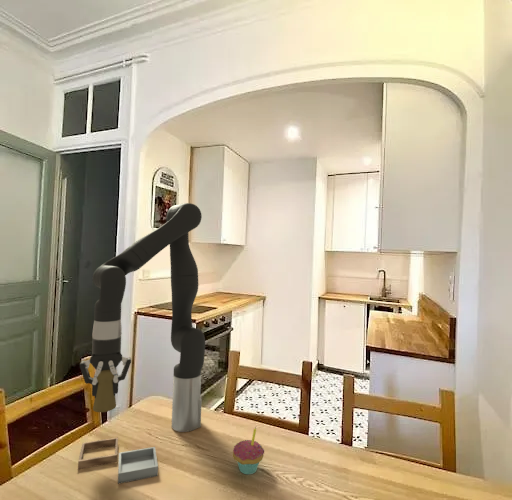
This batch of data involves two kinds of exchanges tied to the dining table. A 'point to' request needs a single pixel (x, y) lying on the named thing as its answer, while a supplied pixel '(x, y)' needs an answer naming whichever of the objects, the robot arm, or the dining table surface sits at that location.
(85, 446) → the walnut frame
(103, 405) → the olive pawn
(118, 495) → the dining table surface
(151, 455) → the grey tray
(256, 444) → the cupcake
